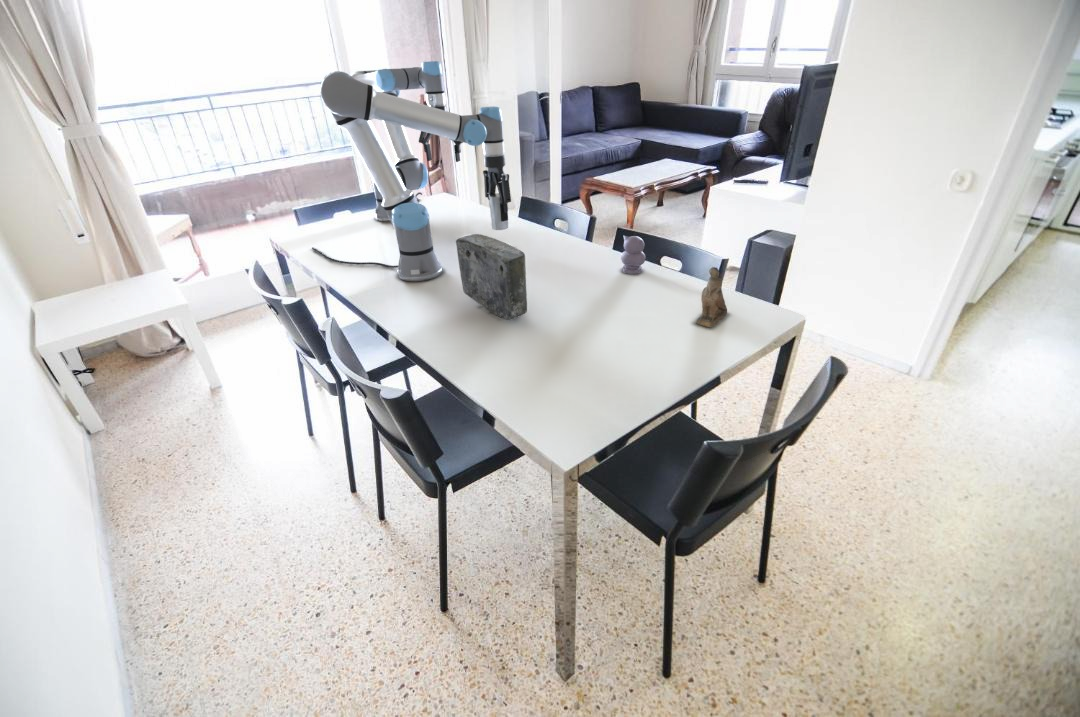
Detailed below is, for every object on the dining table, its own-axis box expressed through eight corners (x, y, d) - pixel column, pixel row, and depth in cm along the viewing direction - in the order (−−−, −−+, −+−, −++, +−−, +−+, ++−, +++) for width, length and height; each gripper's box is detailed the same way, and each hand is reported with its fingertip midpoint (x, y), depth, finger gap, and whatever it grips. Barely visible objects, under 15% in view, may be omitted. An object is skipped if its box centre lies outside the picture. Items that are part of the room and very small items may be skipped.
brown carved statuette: (709, 335, 136) (713, 280, 124) (691, 329, 139) (693, 274, 128) (730, 313, 142) (736, 258, 130) (712, 307, 145) (716, 253, 133)
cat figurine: (649, 270, 171) (652, 236, 165) (636, 276, 167) (638, 242, 160) (628, 264, 176) (630, 231, 170) (615, 271, 172) (617, 237, 165)
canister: (488, 228, 192) (485, 195, 186) (500, 224, 196) (498, 192, 190) (499, 231, 188) (497, 198, 182) (511, 227, 192) (509, 194, 186)
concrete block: (534, 321, 142) (531, 253, 131) (508, 330, 137) (503, 261, 127) (486, 291, 160) (480, 231, 150) (462, 299, 156) (454, 237, 145)
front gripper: (518, 156, 174) (522, 221, 186) (488, 150, 187) (493, 212, 199) (501, 159, 170) (506, 226, 182) (471, 153, 183) (477, 216, 195)
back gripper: (405, 106, 202) (413, 161, 213) (460, 106, 195) (466, 163, 206) (414, 104, 208) (422, 158, 219) (468, 104, 201) (473, 160, 212)
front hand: (499, 218), depth 190 cm, fingers closed on canister, 6 cm apart
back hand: (443, 161), depth 212 cm, fingers open, 13 cm apart
